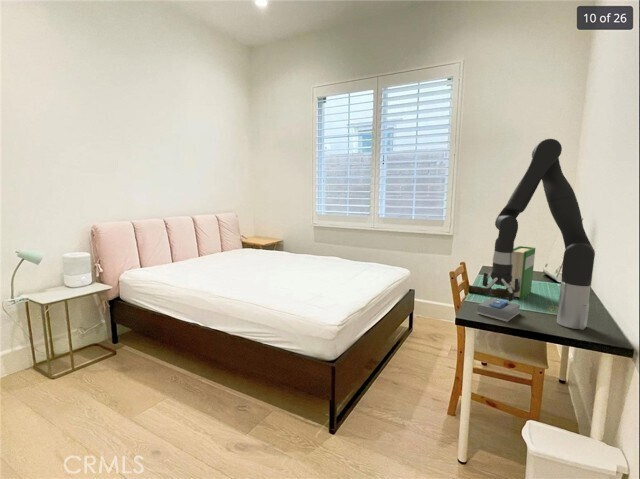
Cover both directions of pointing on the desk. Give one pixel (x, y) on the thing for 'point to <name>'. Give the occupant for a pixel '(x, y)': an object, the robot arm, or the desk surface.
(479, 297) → the desk surface
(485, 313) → the plate
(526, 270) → the hardback book
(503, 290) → the hand tool
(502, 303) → the block
